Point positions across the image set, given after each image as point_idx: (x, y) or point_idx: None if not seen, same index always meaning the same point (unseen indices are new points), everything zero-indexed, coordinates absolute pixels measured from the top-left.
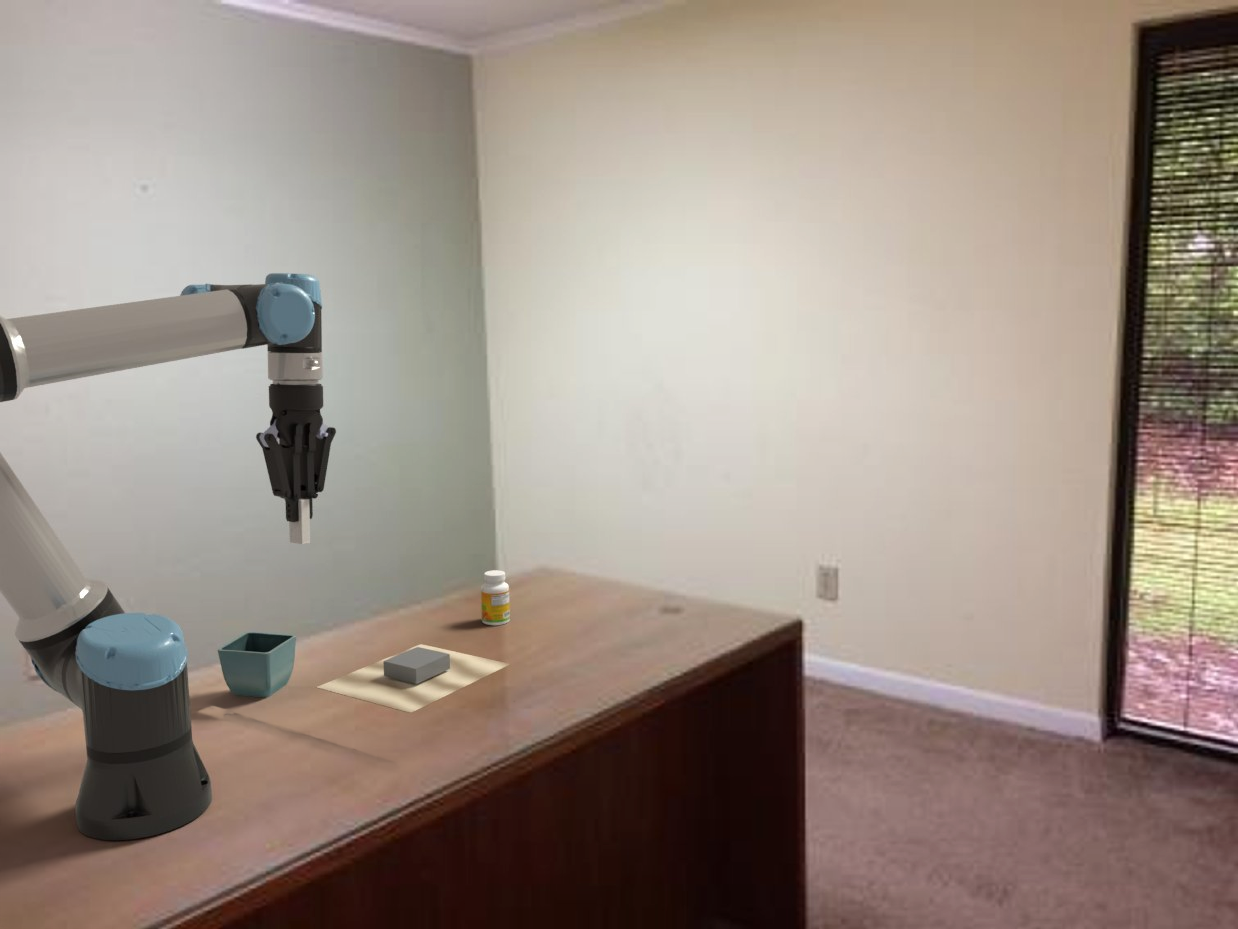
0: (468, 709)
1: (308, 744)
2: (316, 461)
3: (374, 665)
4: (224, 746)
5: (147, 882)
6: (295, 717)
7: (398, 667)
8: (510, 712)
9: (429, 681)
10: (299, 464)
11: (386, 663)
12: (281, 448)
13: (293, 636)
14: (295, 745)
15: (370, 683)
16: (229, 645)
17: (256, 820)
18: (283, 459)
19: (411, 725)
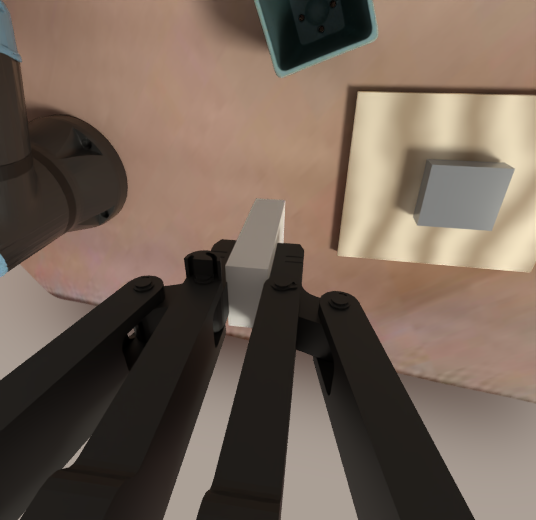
0: (388, 284)
1: (240, 199)
2: (353, 458)
3: (476, 103)
4: (186, 121)
5: (48, 256)
6: (284, 129)
7: (424, 192)
8: (396, 319)
9: None
10: (178, 463)
11: (430, 170)
12: (45, 510)
13: (368, 40)
14: (231, 189)
15: (400, 154)
16: None
17: (131, 260)
18: (103, 432)
19: (327, 258)
